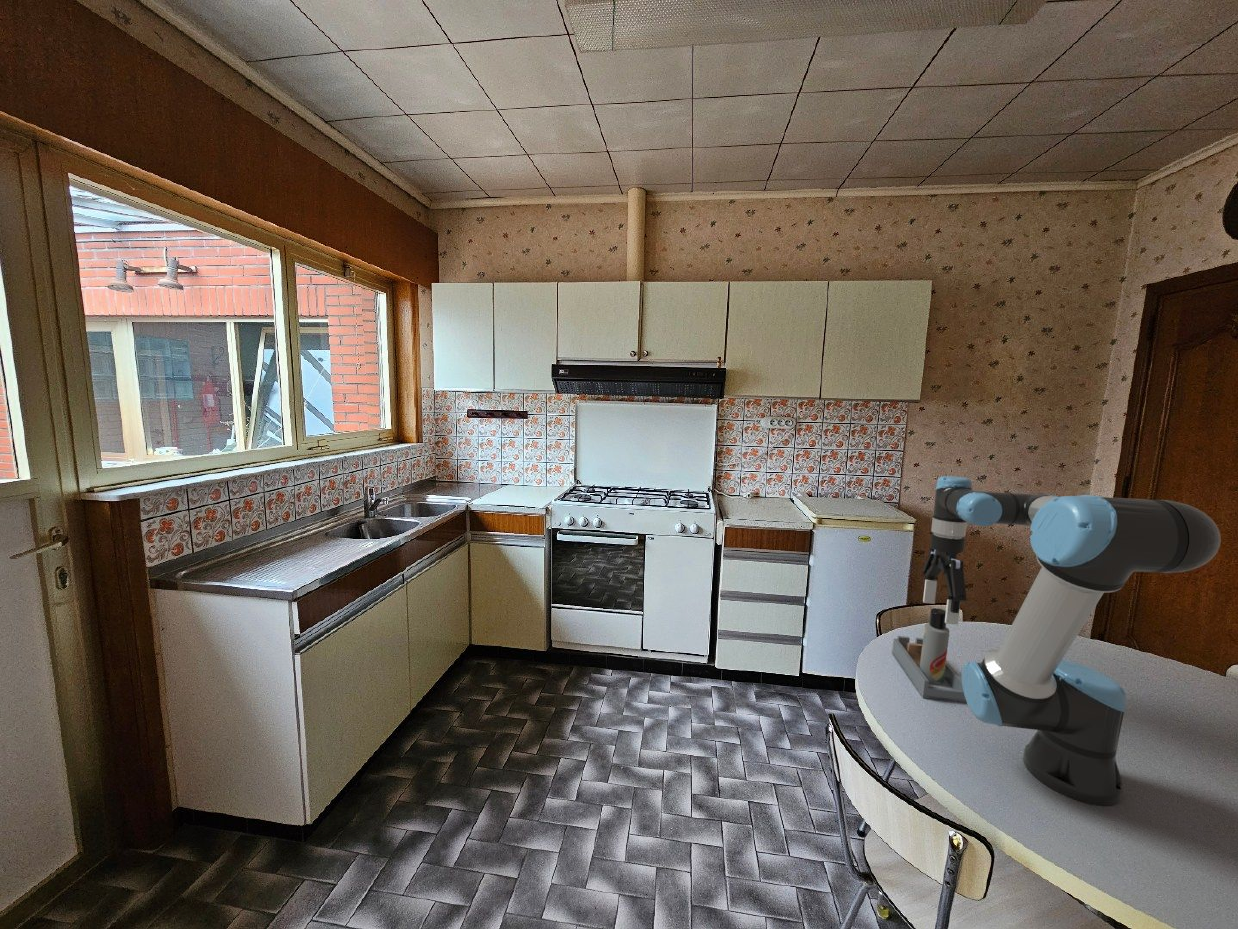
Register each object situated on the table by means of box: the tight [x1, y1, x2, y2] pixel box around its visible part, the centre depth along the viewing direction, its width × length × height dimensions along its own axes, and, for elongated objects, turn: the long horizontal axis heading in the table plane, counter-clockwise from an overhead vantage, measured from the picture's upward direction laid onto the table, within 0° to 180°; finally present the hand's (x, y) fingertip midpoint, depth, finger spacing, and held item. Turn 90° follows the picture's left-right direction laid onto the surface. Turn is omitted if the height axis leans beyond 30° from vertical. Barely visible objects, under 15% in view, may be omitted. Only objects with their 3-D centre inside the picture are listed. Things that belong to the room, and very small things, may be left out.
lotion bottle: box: [920, 607, 950, 685], centre depth 135 cm, size 6×6×20 cm
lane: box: [891, 635, 967, 704], centre depth 139 cm, size 23×10×6 cm, turn 169°
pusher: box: [907, 642, 922, 666], centre depth 146 cm, size 7×7×6 cm
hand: (939, 612), depth 133 cm, fingers open, 13 cm apart
